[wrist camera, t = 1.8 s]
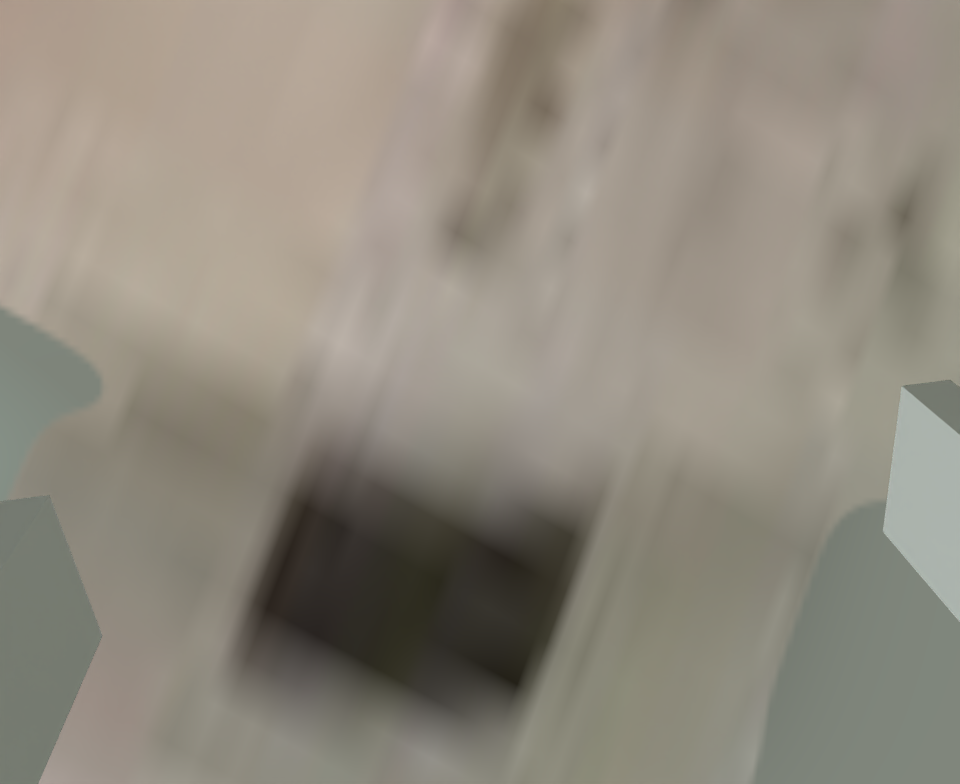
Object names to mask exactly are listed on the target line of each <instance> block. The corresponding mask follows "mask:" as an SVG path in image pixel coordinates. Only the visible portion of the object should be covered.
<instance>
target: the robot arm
mask: <svg viewBox="0 0 960 784" xmlns="http://www.w3.org/2000/svg"><path fill="white" fill-rule="evenodd" d="M883 532H884V533H885V535H886V536H887V537H888V538H889V539H890V540H891V542H892V543H893V544H894V545H895V546H896V548H897V549H898V550H899V551H900V552H901V553H902V555H903V556H904V557H905V558H906V559H907V560H908V561H909V563H910V564H911V565H912V566H913V567H914V569H915V570H916V571H917V572H918V573H919V574H920V576H921V577H922V578H923V579H924V580H925V582H926V583H927V584H928V585H929V586H930V587H931V588H932V590H933V591H934V592H935V593H936V594H937V596H938V597H939V598H940V599H941V600H942V602H943V603H944V604H945V605H946V606H947V607H948V609H949V610H950V611H951V612H952V613H953V614H954V616H955V617H956V618H957V619H958V620H959V621H960V387H959V386H957V385H956V384H955V383H953V382H952V381H951V380H945V381H937V382H929V383H921V384H914V385H906V386H902V388H901V396H900V404H899V411H898V419H897V427H896V435H895V442H894V450H893V458H892V466H891V473H890V481H889V489H888V497H887V505H886V512H885V520H884V528H883ZM101 638H102V634H101V631H100V628H99V626H98V623H97V620H96V618H95V615H94V612H93V610H92V607H91V604H90V602H89V599H88V596H87V594H86V591H85V588H84V586H83V583H82V580H81V578H80V575H79V572H78V570H77V567H76V564H75V562H74V559H73V556H72V554H71V551H70V549H69V546H68V543H67V541H66V538H65V535H64V533H63V530H62V527H61V525H60V522H59V519H58V517H57V514H56V511H55V509H54V506H53V503H52V501H51V498H50V495H47V496H39V497H31V498H23V499H16V500H8V501H0V784H38V783H39V780H40V778H41V776H42V773H43V771H44V769H45V767H46V764H47V762H48V760H49V757H50V755H51V753H52V750H53V748H54V746H55V744H56V741H57V739H58V737H59V734H60V732H61V730H62V727H63V725H64V723H65V721H66V718H67V716H68V714H69V711H70V709H71V707H72V704H73V702H74V700H75V698H76V695H77V693H78V691H79V688H80V686H81V684H82V681H83V679H84V677H85V675H86V672H87V670H88V668H89V665H90V663H91V661H92V659H93V656H94V654H95V652H96V649H97V647H98V645H99V642H100V640H101Z"/></svg>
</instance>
